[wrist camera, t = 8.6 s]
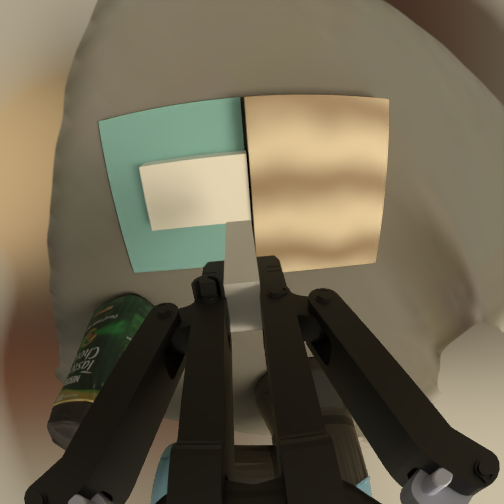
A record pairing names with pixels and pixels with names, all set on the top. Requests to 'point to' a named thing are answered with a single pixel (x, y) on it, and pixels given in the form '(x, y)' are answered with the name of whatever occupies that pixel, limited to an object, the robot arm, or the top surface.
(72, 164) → the top surface
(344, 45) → the top surface
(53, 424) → the coffee jar
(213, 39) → the top surface
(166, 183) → the card
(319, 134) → the tan flat block
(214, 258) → the mat
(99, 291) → the top surface
